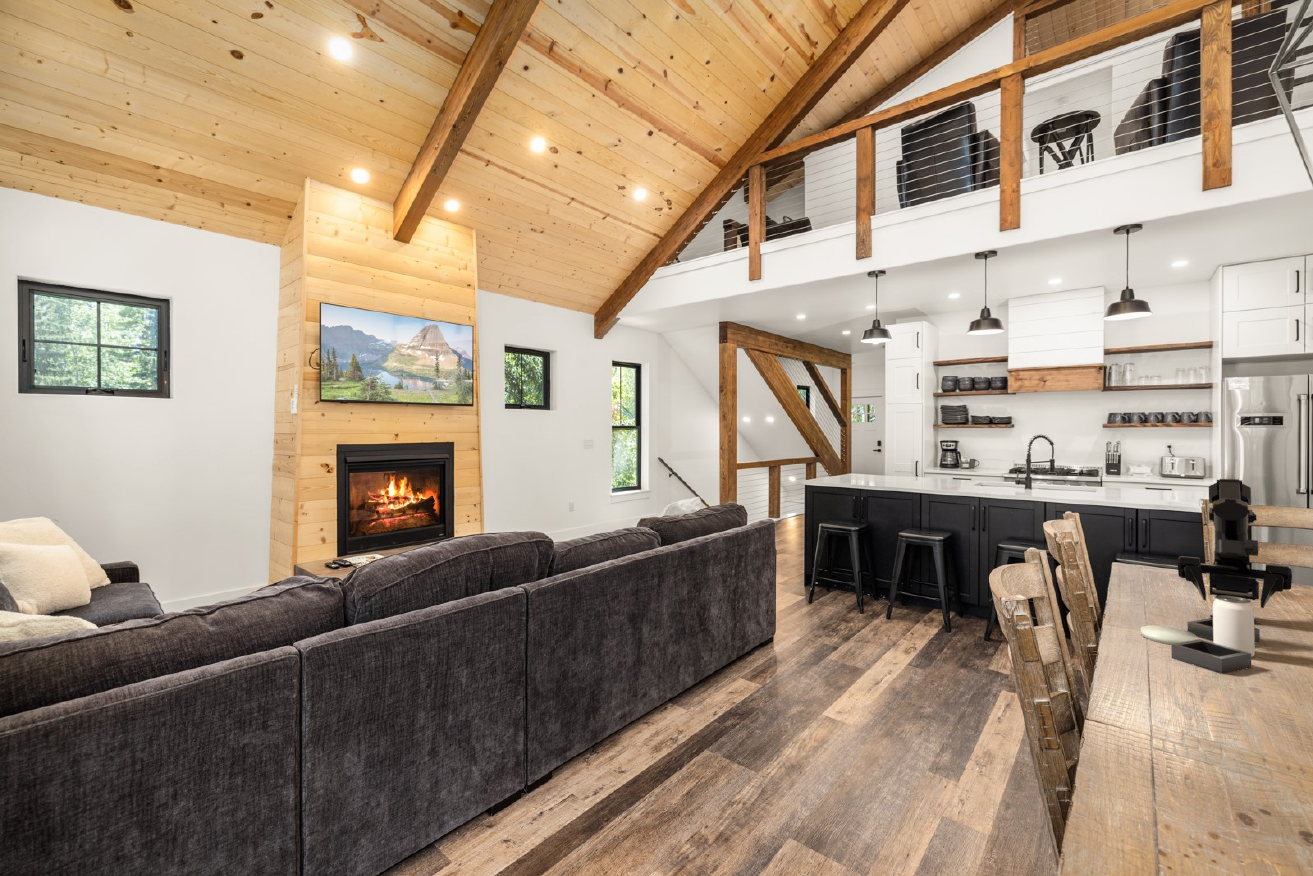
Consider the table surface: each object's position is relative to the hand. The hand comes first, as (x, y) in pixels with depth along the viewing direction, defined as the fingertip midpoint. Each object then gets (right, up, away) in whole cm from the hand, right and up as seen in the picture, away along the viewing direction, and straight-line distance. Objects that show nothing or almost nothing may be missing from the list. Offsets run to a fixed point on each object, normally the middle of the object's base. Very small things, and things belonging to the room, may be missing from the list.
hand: (1232, 603), depth 131 cm
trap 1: (-12, -11, -7) cm, 18 cm away
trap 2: (+4, -10, +7) cm, 13 cm away
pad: (-8, -10, +7) cm, 15 cm away
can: (-2, -11, -2) cm, 11 cm away
